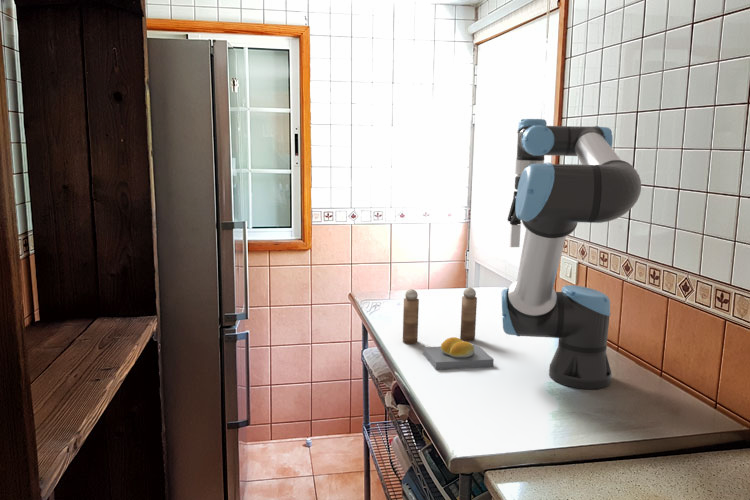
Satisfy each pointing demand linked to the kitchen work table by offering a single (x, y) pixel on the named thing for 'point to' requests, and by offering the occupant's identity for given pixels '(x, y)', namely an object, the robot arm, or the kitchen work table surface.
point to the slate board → (457, 359)
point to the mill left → (410, 317)
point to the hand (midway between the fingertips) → (524, 251)
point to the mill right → (468, 315)
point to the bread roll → (457, 348)
